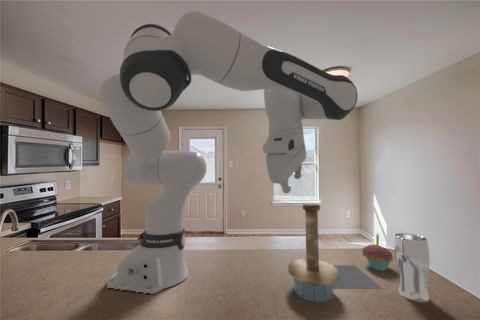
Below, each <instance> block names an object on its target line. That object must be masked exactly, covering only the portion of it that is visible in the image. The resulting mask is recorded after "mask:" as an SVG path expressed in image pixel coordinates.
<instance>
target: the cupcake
mask: <svg viewBox="0 0 480 320" xmlns="http://www.w3.org/2000/svg"><path fill="white" fill-rule="evenodd" d="M375 237H376V243H375V244H368V245H366V246H364V247H363V248H362V250H361V251H362V252H361V253H362V256H364V257H365V258H366V260H367V262H368V265H369V267H370V268H372V269H374V270H376V271H387V270H388V267H389V265H390V263H391V262H392V261H393V260H394V257H393V253H392V252H391V251H390V250H389V249H387V248H385V247H383V246H381V245H379V243H380V242H379V241H380V240H379V239H380V236H379V233H378V232H377V233H376V235H375Z"/></svg>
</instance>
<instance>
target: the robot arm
mask: <svg viewBox="0 0 480 320" xmlns="http://www.w3.org/2000/svg"><path fill="white" fill-rule="evenodd" d="M194 75H198V76H202V77H203V78H207V79H208V80H211V81H213V82H215V83H217V84H219V85H221V86H224V87H226V88H228V89H232V90H236V91H242V92H249V91H250V92H251V91H259V90H263V98H264V99H263V100H264V109H265V114H266V117H267V119H268V137H267V139H266V141H265V142H264V144H263V145H262V150H263V153H264V154H265V155H266V157H265V163H266V169H267V174H268V177H269V181H270V182H271V184H278V185H280V187H281V189H282V193H283V194H289V193H290V192H291V191H292V189H291V188H292V187H291V185H290V184H289V178H290V177H292V175H293V178H294V179H295V180H300V179H301V177H302V168H303V164H302V163H304V161H305V160H307V149H306V143H305V135H304V128H303V127H304V126H303V121H302V120H331V121H332V120H335V121H340V120H343V119H344V118H346V117H347V116H348V115H349V114H350V113H351V112H352V110H354V108H355V106H356V104H357V102H358V90H357V87H356V86H355V84H354V83H353V81H352V80H351V79H350V78H348V77H347V76H346V75H340V74H339V75H337V74H335V75H334V74H330V73H328V72H326V71H324V70H322V69H320V68H319V67H317V66H315V65H313V64H311V63H309V62H307V61H305V60H303V59H301V58H299V57H297V56H295V55H293V54H290V53H288V52H286V51H283V50H279V49H276V48H273V47H271V46H269V45H265V44H263V43H260V42H259V41H257V40H255V39H252V38H251V37H249V36H248V35H246V34H244V33H243V32H241V31H239V30H237V29H236V28H235V27H233V26H230V25H229V24H227V23H225V22H224V21H221V20H220V19H217V18H215V17H213V16H210V15H207V14H205V13H202V12H200V11H197V10H196V11H195V10H190V11H187V12H186V13H184V14H182V16H181V17H180V18H179V19H178V20H177V22H176V24H175V26H174V29H173V31H172V32H170V31H169V30H168V29H167V28H165V27H164V26H161V25H159V24H156V23H155V24H154V23H147V24H146V23H145V24H143V25H141V26H139V27H138V28H136V29H135V30H134V31H133V32H132V34H131V36H130V38H129V40H128V42H127V44H126V46H125V48H124V52H123V58H122V63H121V65H120V68H119V73H118V74H113V75H112V76H109V77H108V78H106V80H104V81H103V83H102V84H101V86H100V88H99V95H100V98H101V102H102V105H103V106H104V108H105V111H106V113H107V115H108V117H109V119H110V121H111V122H112V124H113V126H114V127H115V128H116V129H115V130H117V131H118V133H119V135H120V136H121V138H122V139H123V142H125V144H126V146H127V147H128V150H129V152H130V154H129V155H128V156H127V157H126V158H125V160H124V162H123V166H122V170H123V175H124V177H125V179H126V181H128V182H129V183H131V184H135V185H142V186H164V189H163V192H162V194H161V195H160V196H158V197H156V198H154V199H152V200H151V201H150V202H149V203H148V204H147V207H146V210H145V229H144V230H143V232H141V233H140V234H139V235H138V236H137V239H136V240H137V241H139V243H138V244H137V245H136V246H135V247H134V248H133V249H131V250H130V251H129V252H128V253H126V254H125V255H123V257H122V258H121V260H120V261H119V263H118V265H117V269H116V272H115V273H114V274H113V275H112V276H110V278H109V279H108V280H107V283H106V288H107V289H108V288H117V289H126V290H132V291H136V292H135V293H138V292H143V293H142V294H146V293H150V294H149V295H153V294H156V293H159V292H161V291H163V290H164V289H167V288H170V287H173V286H177V285H178V284H180V283H182V282H183V281H184V280H186V278H187V277H189V269H188V266H187V262H186V257H185V256H186V255H185V245H186V232H185V227H184V219H185V218H184V217H185V215H184V214H185V207H186V205H185V204H186V201H187V199H188V197H189V194H190V193H191V191H192V190H193V189H194V188H195V186H197V185H198V184H200V183H201V182H202V181H203V179H204V178H205V176H206V174H207V163H206V160H205V158H204V157H203V155H202V154H201V153H199V152H195V151H190V150H166V149H167V148H168V146H169V144H170V142H171V132H170V130H169V128H168V125H167V122H166V120H165V118H164V115H163V114H162V111H164V110H167V109H168V108H170V107H172V106H173V105H174V104H175V103H176V101H177V100H178V99H179V98H180V96H181V94H182V93H183V92H184V91H185V90H186V89H187V88H188V87H189V86H190V84H191V83H192V76H194Z"/></svg>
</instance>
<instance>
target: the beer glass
mask: <svg viewBox="0 0 480 320" xmlns="http://www.w3.org/2000/svg"><path fill="white" fill-rule="evenodd" d="M394 257H395V261H396V266H397V269H398V270H397V271H398V274H399V286H398V293H399V294H400V295H401V296H402V297H404V298H406V299H408V300H410V301H413V302H417V303H429V302H430V296H429V293H428V286H427V282H428V280H427V279H428V274H429V271H430V270H429V269H430V250H429V243H428V238H427V237H425V236H422V235H418V234H414V233H407V232H399V233H397V232H396V233H395V234H394Z"/></svg>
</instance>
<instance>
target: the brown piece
mask: <svg viewBox="0 0 480 320" xmlns="http://www.w3.org/2000/svg"><path fill="white" fill-rule="evenodd" d="M302 210H304V215H305V217H304V219H305V222H304V223H305V225H304V226H305V255H306V257H305V258H297V259H294V260H292V261H290V262H288V265H287V271H288V274H289V275H290V276H291V277H292V278H295V279H296V280H298V281H301V282H303V283H307V284H311V285H321V286H323V285H331V284H334V283H336V282H338V280H339V278H340V276H339V271H338V269H337V268H336V267H334V266H333V264H331V263H329V262H326V261H324V260H320V258H319V257H320V256H319V255H320V250H319V222H318V221H319V217H318V212H319V211H320V210H321V206H320V204H319V203H303V204H302Z"/></svg>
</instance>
